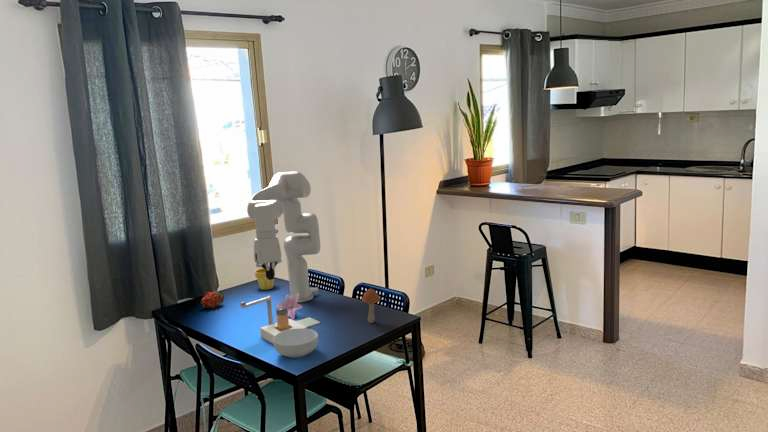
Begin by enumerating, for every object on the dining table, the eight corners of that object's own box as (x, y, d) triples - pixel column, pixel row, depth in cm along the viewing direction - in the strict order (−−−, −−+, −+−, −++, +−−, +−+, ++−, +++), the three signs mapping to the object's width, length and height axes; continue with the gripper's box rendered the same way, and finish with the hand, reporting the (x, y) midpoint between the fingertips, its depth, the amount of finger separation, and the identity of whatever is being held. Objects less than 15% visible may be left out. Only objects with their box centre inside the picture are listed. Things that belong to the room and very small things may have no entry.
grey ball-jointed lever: (269, 297, 251) (268, 292, 251) (273, 299, 249) (272, 294, 249) (239, 307, 241) (239, 302, 241) (243, 308, 239) (243, 303, 239)
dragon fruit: (227, 307, 289) (203, 316, 284) (220, 294, 294) (197, 303, 288) (226, 297, 283) (202, 306, 278) (220, 284, 288) (195, 293, 282)
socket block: (284, 324, 257) (281, 295, 255) (307, 336, 242) (305, 305, 239) (254, 333, 249) (251, 303, 246) (277, 346, 233) (274, 314, 231)
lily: (276, 316, 272) (270, 302, 265) (296, 300, 277) (291, 286, 271) (291, 329, 264) (285, 315, 258) (311, 313, 269) (306, 299, 263)
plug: (286, 333, 246) (283, 306, 244) (292, 336, 243) (289, 308, 240) (276, 336, 243) (273, 308, 241) (282, 339, 240) (279, 311, 238)
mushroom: (384, 319, 256) (382, 285, 253) (378, 326, 248) (375, 291, 245) (367, 318, 258) (364, 285, 255) (360, 324, 251) (358, 290, 248)
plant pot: (253, 291, 308) (251, 273, 306) (260, 285, 318) (259, 267, 316) (272, 290, 306) (270, 272, 304) (279, 284, 316) (277, 267, 314)
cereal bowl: (280, 367, 214) (278, 348, 213) (270, 350, 230) (268, 333, 228) (325, 356, 221) (323, 338, 220) (312, 341, 236) (310, 324, 235)
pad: (309, 318, 262) (309, 317, 262) (320, 323, 255) (320, 322, 255) (291, 323, 257) (291, 322, 257) (302, 329, 250) (302, 327, 250)
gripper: (278, 230, 242) (282, 273, 246) (244, 236, 234) (249, 281, 237) (287, 232, 236) (291, 276, 240) (252, 239, 228) (257, 285, 231)
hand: (270, 278), depth 238 cm, fingers closed
